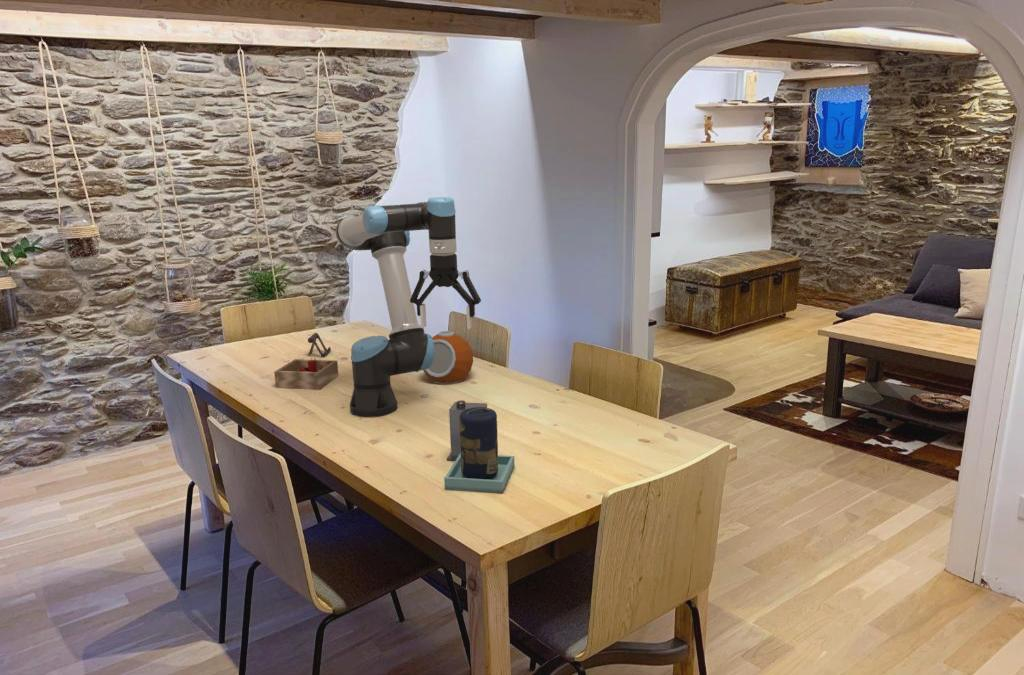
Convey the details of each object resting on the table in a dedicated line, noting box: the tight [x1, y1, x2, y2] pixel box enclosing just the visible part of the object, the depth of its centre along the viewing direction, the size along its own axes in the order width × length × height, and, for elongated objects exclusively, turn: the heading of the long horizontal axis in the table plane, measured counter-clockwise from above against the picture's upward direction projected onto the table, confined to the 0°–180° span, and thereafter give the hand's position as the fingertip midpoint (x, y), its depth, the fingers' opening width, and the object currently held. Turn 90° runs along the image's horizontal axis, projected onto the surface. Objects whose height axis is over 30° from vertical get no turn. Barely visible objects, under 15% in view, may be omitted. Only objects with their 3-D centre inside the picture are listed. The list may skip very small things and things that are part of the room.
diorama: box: [299, 358, 323, 372], centre depth 272 cm, size 11×12×8 cm
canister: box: [459, 407, 499, 479], centre depth 187 cm, size 10×10×18 cm
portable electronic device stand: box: [307, 332, 332, 358], centre depth 306 cm, size 9×8×8 cm
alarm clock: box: [423, 330, 474, 385], centre depth 269 cm, size 19×18×17 cm
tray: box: [443, 453, 515, 494], centre depth 189 cm, size 15×16×3 cm
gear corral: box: [274, 358, 340, 390], centre depth 271 cm, size 17×16×6 cm
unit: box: [446, 400, 488, 462], centre depth 201 cm, size 11×8×16 cm
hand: (446, 327), depth 213 cm, fingers open, 13 cm apart
